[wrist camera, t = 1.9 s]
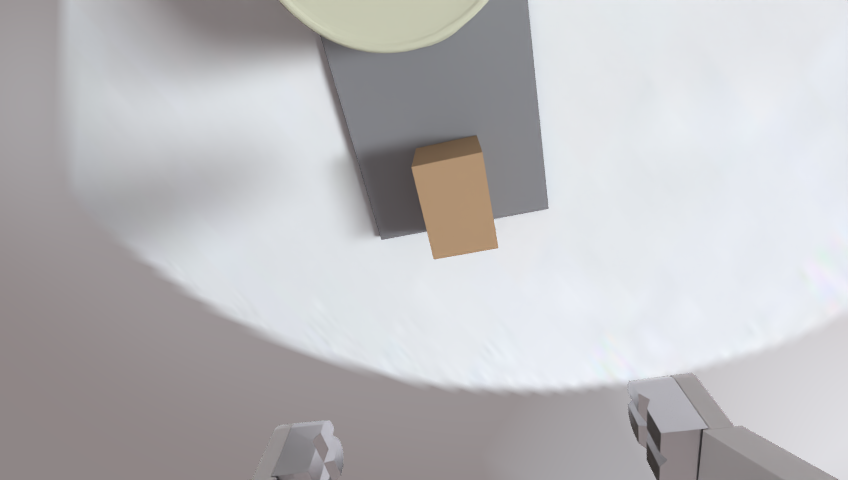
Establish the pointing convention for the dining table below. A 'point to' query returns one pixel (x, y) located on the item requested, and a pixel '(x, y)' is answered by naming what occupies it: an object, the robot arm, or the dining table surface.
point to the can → (384, 21)
